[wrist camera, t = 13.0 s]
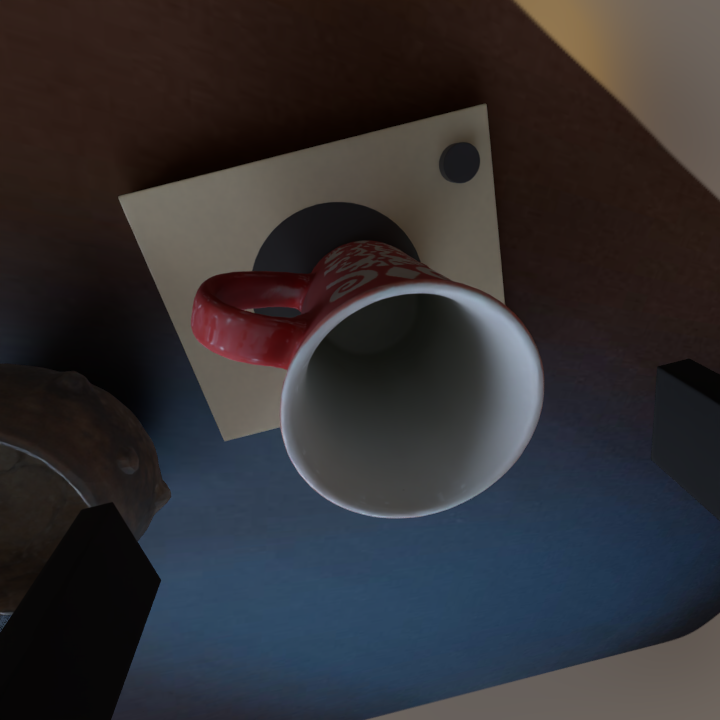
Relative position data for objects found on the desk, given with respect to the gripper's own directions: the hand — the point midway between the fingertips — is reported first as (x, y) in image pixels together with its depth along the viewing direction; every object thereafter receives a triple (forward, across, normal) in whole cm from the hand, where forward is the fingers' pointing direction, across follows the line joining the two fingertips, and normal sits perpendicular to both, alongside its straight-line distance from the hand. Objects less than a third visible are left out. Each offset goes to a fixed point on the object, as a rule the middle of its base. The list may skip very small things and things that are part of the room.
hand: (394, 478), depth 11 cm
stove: (+19, 0, 0) cm, 19 cm away
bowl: (+19, -20, -5) cm, 29 cm away
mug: (+18, 0, 0) cm, 18 cm away
